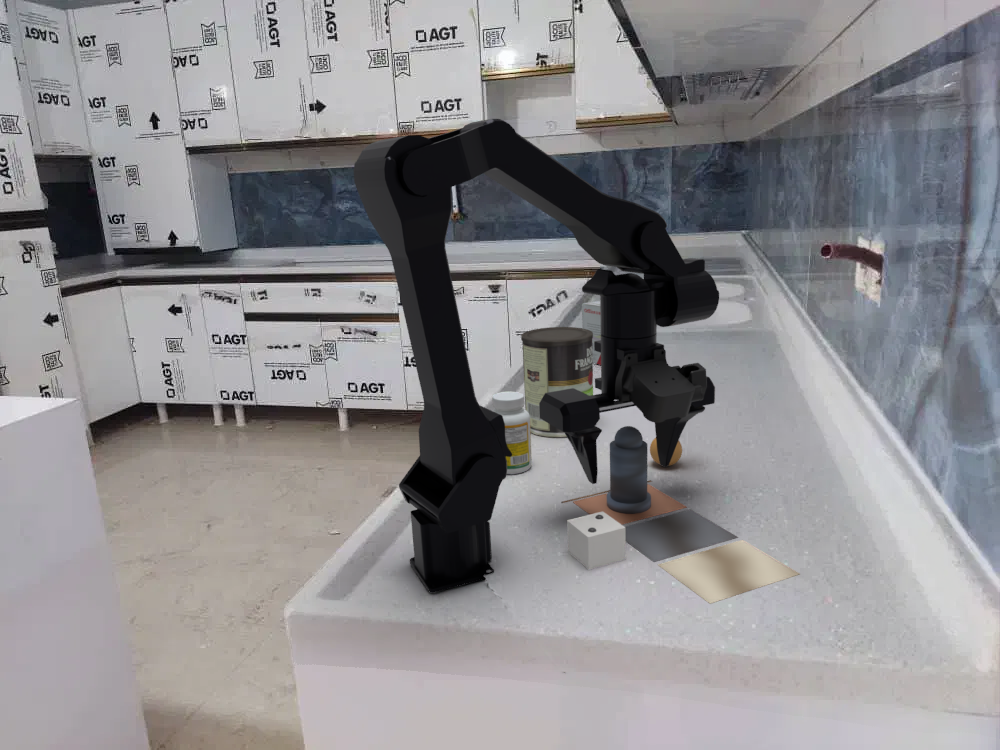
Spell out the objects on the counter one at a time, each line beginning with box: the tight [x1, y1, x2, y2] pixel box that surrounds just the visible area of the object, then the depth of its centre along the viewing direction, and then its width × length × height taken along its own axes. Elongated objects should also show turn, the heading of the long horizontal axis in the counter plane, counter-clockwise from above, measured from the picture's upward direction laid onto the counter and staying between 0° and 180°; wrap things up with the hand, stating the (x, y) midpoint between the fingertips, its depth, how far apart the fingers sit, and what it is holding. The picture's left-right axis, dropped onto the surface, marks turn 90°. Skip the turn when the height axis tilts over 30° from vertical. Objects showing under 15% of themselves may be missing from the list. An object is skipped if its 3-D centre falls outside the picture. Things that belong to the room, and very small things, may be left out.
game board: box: [561, 480, 801, 605], centre depth 75 cm, size 12×25×1 cm, turn 24°
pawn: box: [607, 425, 651, 514], centre depth 81 cm, size 5×5×9 cm
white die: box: [566, 511, 627, 571], centre depth 71 cm, size 4×4×4 cm
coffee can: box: [520, 326, 594, 438], centre depth 109 cm, size 10×10×14 cm
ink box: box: [581, 300, 601, 366], centre depth 145 cm, size 9×5×12 cm, turn 34°
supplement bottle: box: [491, 391, 533, 475], centre depth 95 cm, size 5×5×10 cm
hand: (629, 474), depth 81 cm, fingers open, 9 cm apart
